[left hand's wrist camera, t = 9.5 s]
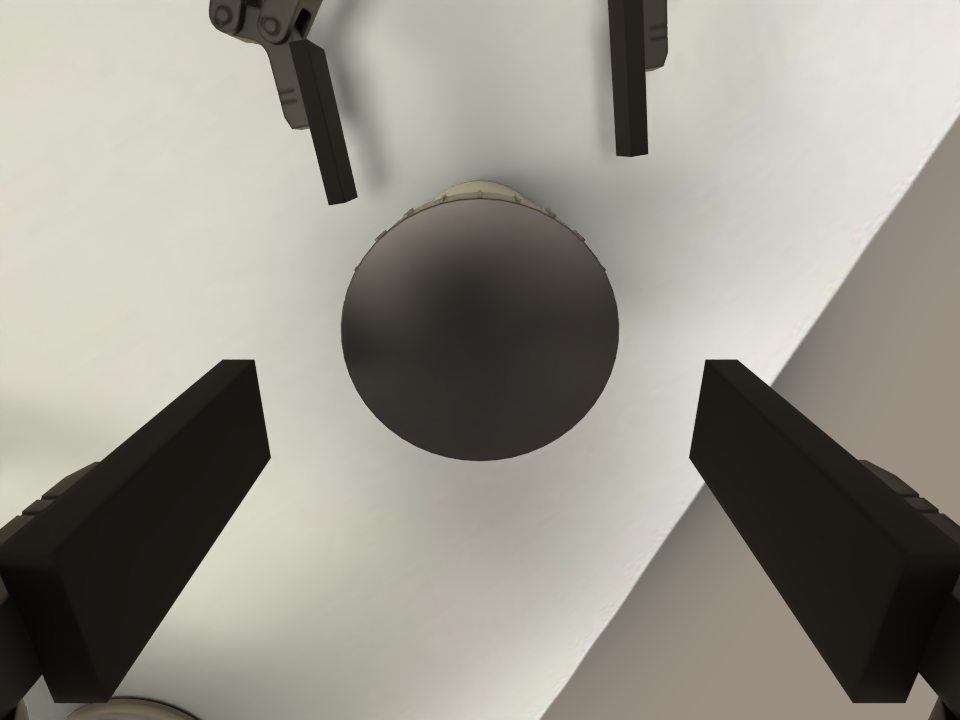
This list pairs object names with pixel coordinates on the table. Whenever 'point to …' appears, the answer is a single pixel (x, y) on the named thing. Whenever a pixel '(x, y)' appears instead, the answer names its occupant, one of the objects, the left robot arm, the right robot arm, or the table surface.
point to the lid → (480, 327)
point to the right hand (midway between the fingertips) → (485, 179)
